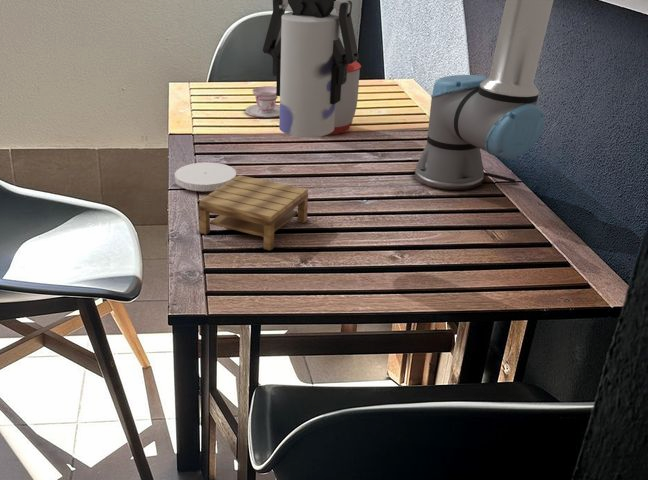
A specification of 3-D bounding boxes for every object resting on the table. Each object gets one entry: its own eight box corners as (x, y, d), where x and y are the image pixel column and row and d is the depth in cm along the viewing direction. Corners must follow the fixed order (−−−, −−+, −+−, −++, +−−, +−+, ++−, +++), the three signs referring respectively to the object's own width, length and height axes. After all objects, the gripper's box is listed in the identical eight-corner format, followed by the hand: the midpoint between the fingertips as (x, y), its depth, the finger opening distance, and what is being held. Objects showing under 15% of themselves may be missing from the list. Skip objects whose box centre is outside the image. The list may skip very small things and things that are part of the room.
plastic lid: (240, 174, 190) (240, 163, 188) (231, 197, 178) (231, 186, 177) (182, 171, 192) (181, 161, 190) (169, 193, 180) (168, 183, 179)
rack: (307, 220, 167) (308, 188, 163) (270, 250, 155) (270, 217, 151) (239, 205, 174) (239, 174, 170) (199, 233, 162) (198, 200, 159)
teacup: (260, 103, 239) (261, 82, 235) (295, 110, 233) (296, 88, 229) (237, 113, 230) (237, 91, 227) (272, 120, 224) (273, 98, 221)
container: (331, 139, 143) (338, 21, 133) (275, 136, 145) (277, 19, 135) (336, 122, 152) (342, 9, 141) (283, 119, 153) (285, 8, 143)
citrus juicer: (344, 116, 227) (349, 43, 217) (364, 136, 212) (370, 58, 202) (290, 119, 225) (292, 45, 214) (306, 140, 210) (309, 61, 200)
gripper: (386, -35, 132) (374, 101, 143) (263, -43, 142) (262, 85, 153) (368, -29, 126) (358, 112, 138) (242, -37, 136) (242, 95, 147)
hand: (308, 98), depth 145 cm, fingers closed on container, 10 cm apart
